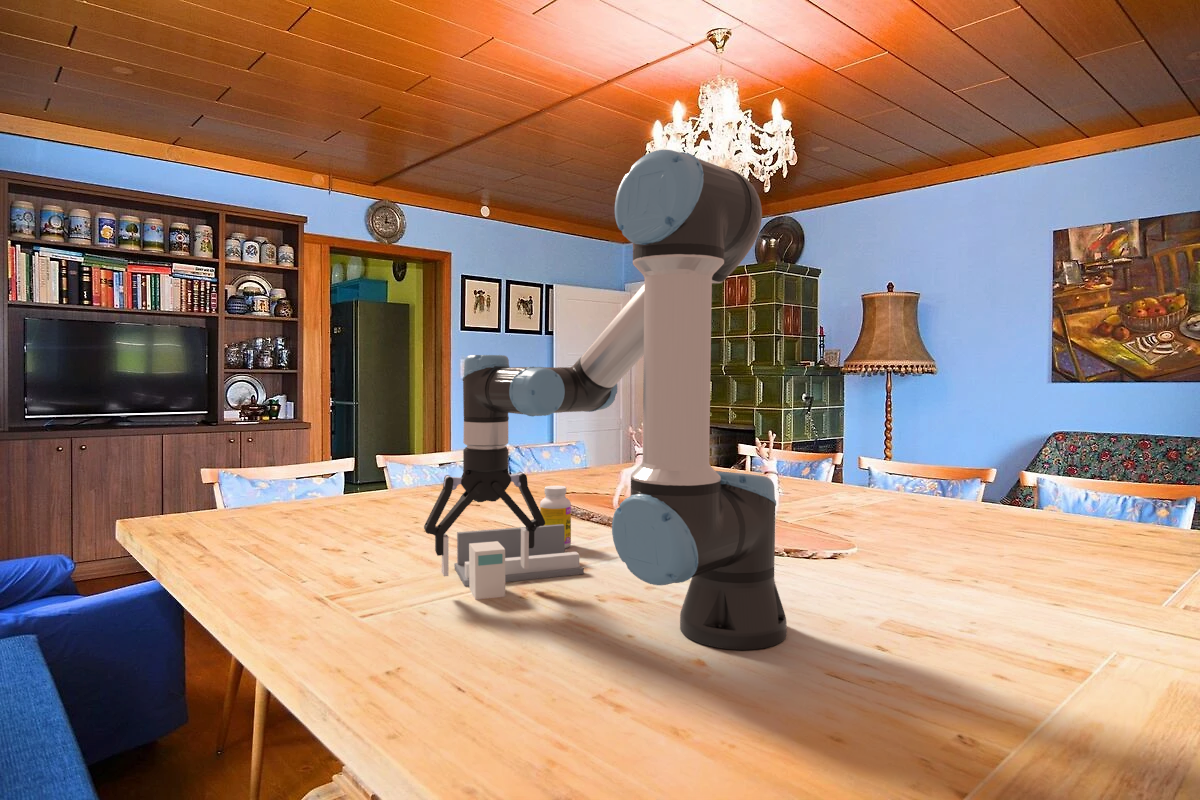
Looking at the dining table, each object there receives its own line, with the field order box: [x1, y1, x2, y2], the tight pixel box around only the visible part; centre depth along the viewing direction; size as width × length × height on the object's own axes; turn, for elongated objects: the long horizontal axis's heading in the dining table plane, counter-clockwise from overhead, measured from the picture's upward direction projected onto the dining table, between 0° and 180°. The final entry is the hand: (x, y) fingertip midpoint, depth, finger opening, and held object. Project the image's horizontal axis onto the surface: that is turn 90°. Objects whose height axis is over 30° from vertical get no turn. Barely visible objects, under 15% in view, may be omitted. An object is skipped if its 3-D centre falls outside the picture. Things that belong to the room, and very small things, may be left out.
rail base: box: [453, 524, 585, 587], centre depth 134 cm, size 12×22×7 cm, turn 110°
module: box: [468, 541, 506, 600], centre depth 121 cm, size 6×5×8 cm
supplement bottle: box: [539, 485, 572, 549], centre depth 153 cm, size 7×7×13 cm
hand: (485, 570), depth 122 cm, fingers open, 13 cm apart
